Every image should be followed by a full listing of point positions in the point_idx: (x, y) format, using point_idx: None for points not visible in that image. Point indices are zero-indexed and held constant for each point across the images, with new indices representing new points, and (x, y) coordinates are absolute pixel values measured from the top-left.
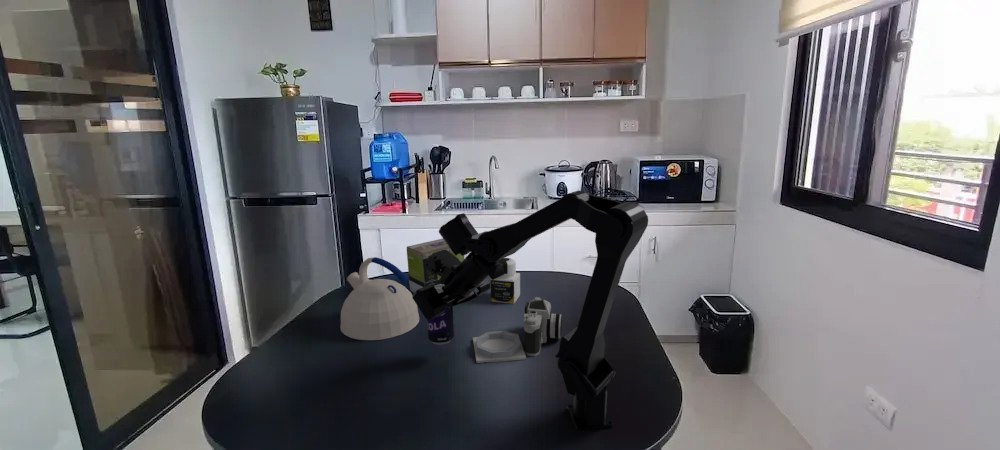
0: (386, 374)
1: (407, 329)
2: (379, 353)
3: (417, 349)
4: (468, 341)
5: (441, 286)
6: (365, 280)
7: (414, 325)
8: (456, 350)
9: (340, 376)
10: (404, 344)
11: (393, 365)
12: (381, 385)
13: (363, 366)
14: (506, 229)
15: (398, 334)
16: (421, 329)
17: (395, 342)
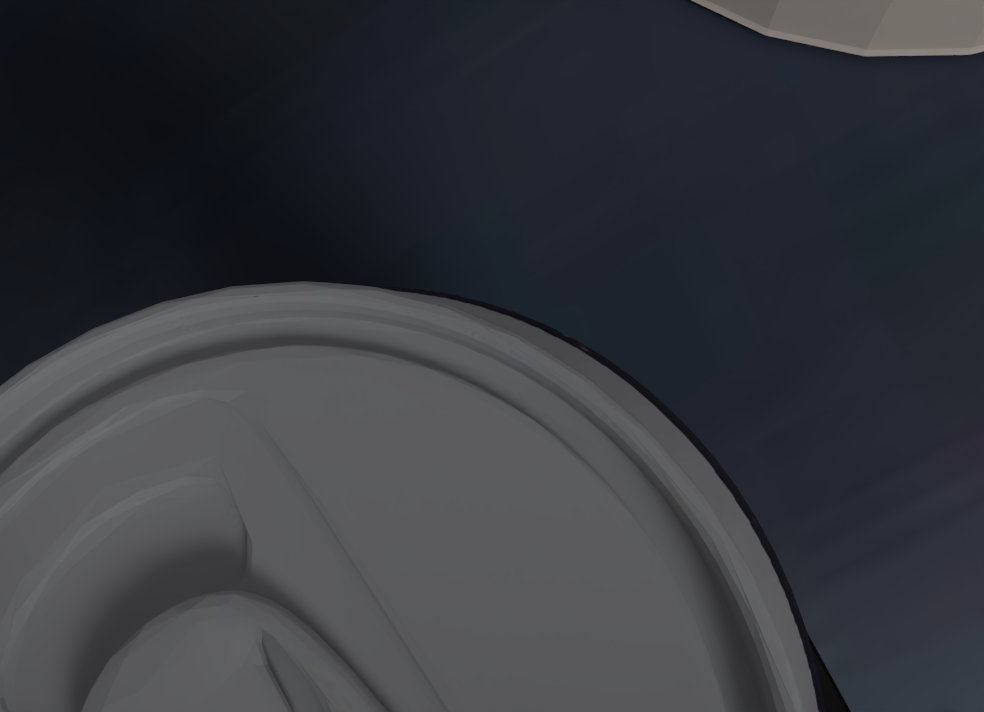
0: (171, 290)
1: (847, 37)
2: (423, 65)
3: (583, 303)
4: (924, 706)
5: (767, 693)
6: None
7: (959, 44)
8: None
9: (83, 26)
10: (621, 156)
11: (296, 265)
12: (39, 340)
13: (228, 78)
14: None
15: (741, 18)
16: (941, 135)
17: (624, 71)
